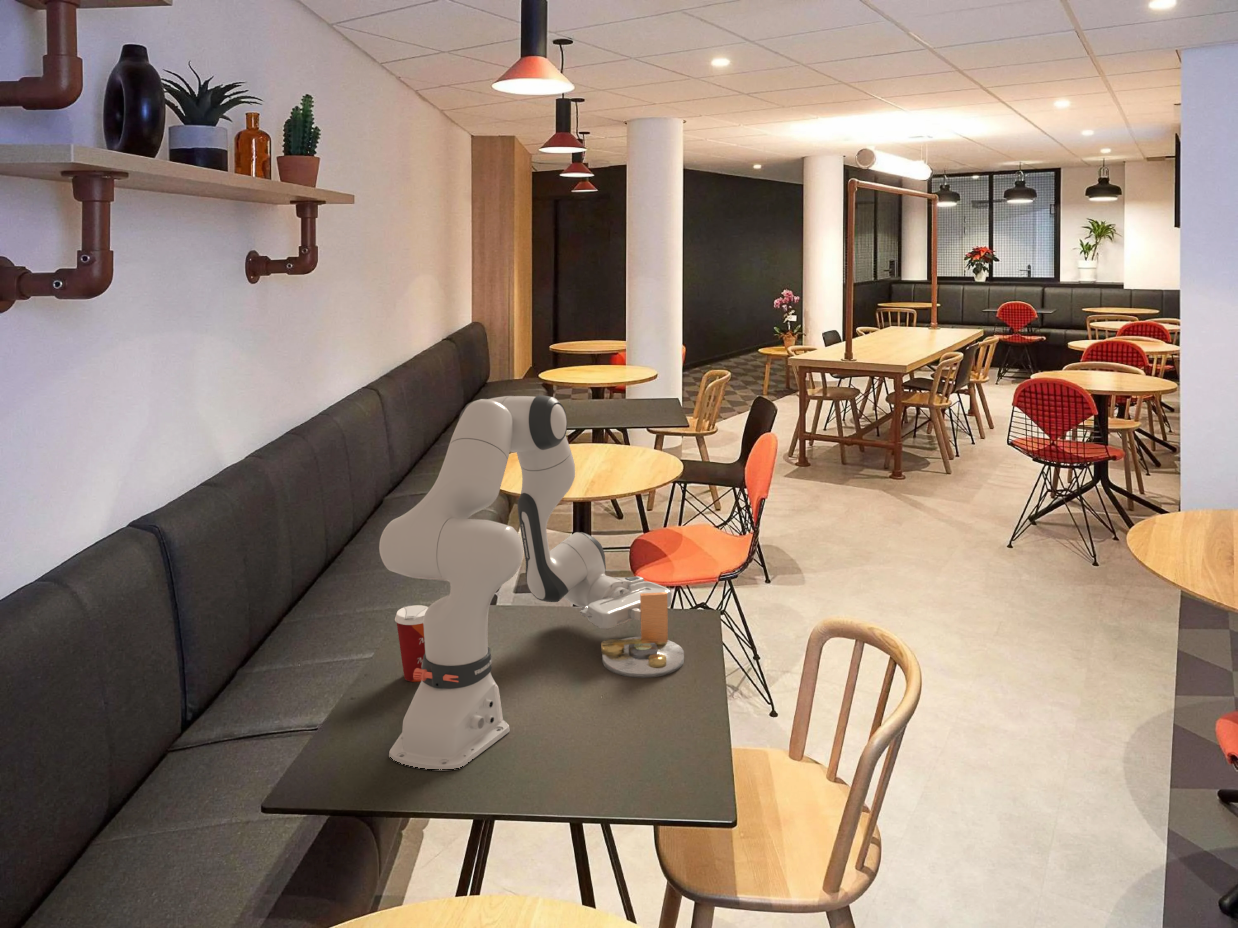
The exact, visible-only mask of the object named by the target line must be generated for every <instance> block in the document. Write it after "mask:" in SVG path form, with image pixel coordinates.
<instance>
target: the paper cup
mask: <svg viewBox="0 0 1238 928" xmlns="http://www.w3.org/2000/svg"><path fill="white" fill-rule="evenodd" d="M428 608H429V606H427V605H424V604H423V605H421V604H417V605H408V606H404V607H401V608H399V609H398V610H397V612H396V615H395V616H394V617H395V618H394V621H395V623H396V628H397V636H398V642H399V648H400V649H399V651H400V656H401V657H400V658H401V663H402V664H401V665H402V671H403V678H404V680H405V681H407V682H411V683H421V680H414V677H413V673H414V670H415V669H416V668H419V669H422V662H423V657H424V654H425V640H424V626H423V619H424V615H425V613H426V611H427V609H428Z"/></svg>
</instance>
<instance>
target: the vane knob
mask: <svg viewBox="0 0 1238 928" xmlns="http://www.w3.org/2000/svg"><path fill="white" fill-rule="evenodd" d="M668 608H669V607H667V592H659V593H641V594H640V615H641V620H640V637H641V639H627V640H621V639H616V638H612V639H611V638H609V639H606V640H603V641H601V643H600V645H601V646H600V647H601V649H600V650H601V651H600V652H601V654H604V655H606V656H618V655H621V654H623V653H624V645H627V644H643V643H659V642H668V640H669V639H668V638H669V637H668V636H669V634H668V630H669V629H668V623H669V622H668V621H669V619H668V614H669V613H668Z"/></svg>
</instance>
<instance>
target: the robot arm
mask: <svg viewBox="0 0 1238 928" xmlns="http://www.w3.org/2000/svg"><path fill="white" fill-rule="evenodd" d="M567 430H568V418H567V413H566V409H565V407H564V406H563V404H562V403H561V402H560V400H558V399H557V398H556V397H553V396H551V395H550V396H548V395H542V394H538V395H537V396H531V395H530V396H529V395H528V396H527V395H515V396H514V395H504V396H498V397H491V398H488V399H487V398H480V399H476V400H474V401H471V402H469V403H467V404H466V405H465V406H464V408H463V409H462V410H461V412H460V415H459V418H458V422H457V424H456V426H455V429H454V432H453V434H452V436H451V438H450V442H449V444H448V448H447V451H446V454H445V456H444V457H445V458H444V460H443V463H442V466H441V469H440V470H439V474H438V477H437V478H436V480H435V482H434V484H433V486H432V487H431V488H430V490H429V492H428V491H427V493H426V495H425V496H424V497H423V498H422V499H421V500H420V501H419V502H418V503H417V504H416V505H414V506H413V508H411V509H410V510H408V511H407V512H406V513H403V514H402V515H401V516H399V517H396V518H394V519H392V520H391V521H390V522H389V523H387V525H386V526H385V528H384V529H383V531H382V532H381V536H380V538H379V545H378V546H379V548H378V549H379V550H378V551H379V555H380V558H381V562H382V563H383V565H384V566H385V568H386V569H387V570H388V571H389V572H393V573H396V574H398V575H400V576H405V577H408V578H411V579H412V578H413V579H423V580H435V581H445V582H448V583H449V585H450V591H449V594H447V595H445V596H442V597H441V598H439V599H437V600H435V601H434V602H433V603H431V604H430V605H429V606H428V607H429V608H428V609H427V611H426V613H425V615H424V619H423V626H424V640H425V654H424V657H423V662H422V669H419V668H416V669H415V670H414V673H413V677H414V680H421V682H419V685H418V687H417V689H416V691H415V694H414V695H413V698H412V700H411V703H410V704H409V706H408V709H407V710H406V713H405V715H404V717H403V720H402V731H401V733H400V735H399V736H398V738H397V739H396V740H395V742H394V743H393V745H392V747H391V748H390V750H389V752H388V753H389V754H388V757H389V758H390V757H391V758H392V759H393V760H392V759H391V758H390V759H391V760H392V761H394V760H395V761H397V762H400V763H401V764H400V763H399V764H400V765H403V764H405V765H404V766H406V765H409V766H408V767H410V766H413V767H412V768H415V767H418V768H417V769H420V768H425V769H424V770H427V769H439V770H438V771H443V770H442V769H454V768H459V769H461V768H460V767H462V766H463V767H465V766H466V765H467V764H469V763H470V762H471V761H472V759H473V760H474V759H476V758H477V757H478V756H479V755H480V754H483V752H484V751H485V750H486V751H487V749H489V748H490V747H491V746H493V745H494V744H495V743H496V742H498V741H499V740H501V739H502V738H503V737H504V736H506V735H507V734H508V733H510V725H509V724H508V723H507V721H505V720H504V718H503V709H502V703H501V696H500V695H501V694H500V689H499V688H500V687H499V686H498V684H497V683H496V681H495V679H494V677H493V676H492V673H491V671H492V670H493V669H492V667H493V666H492V664H493V663H492V662H493V658H492V657H493V656H492V654H491V649H490V647H489V643H488V642H489V641H488V639H489V638H488V634H489V633H488V627H489V626H488V619H489V609H490V605H491V603H492V600H493V598H494V597H495V594H496V593H497V592H498V590H499V589H500V588H501V587H502V586H503V585H504V584H505V583H507V582H508V581H510V580H511V579H512V578H513V577H515V575H516V574H517V572H518V571H519V569H520V567H521V565H522V561H523V558H524V559H525V582H526V587H527V588H528V590H529V592H530V593H531V595H533V597H534V598H535V599H537V600H539V601H542V602H546V603H558V602H559V601H561V600H562V599H565V601H567V602H569V603H571V604H573V605H574V606H577V607H578V608H581V609H580V610H579V614H580V615H581V616H582V617H584V618H587V620H588V621H589V622H590V623H591V624H593V625H594V626H596V627H597V628H599V629H602V630H609V629H611V628H615V627H618V626H621V625H623V624H626V623H629V622H631V621H641V615H640V594H641V593H659V592H667V608H669V607H671V605H672V592H671V590H670V588H668V587H666V586H663V585H660V584H658V583H656V582H651V581H647V580H646V581H645V578H644V577H642V576H639V575H637V576H628V577H612V576H609V575H606V571H607V570H606V569H607V568H606V567H607V566H606V565H607V564H606V554H605V550H604V548H603V546H602V544H601V543H600V541H599V540H597V539H596V538H595V537H594V536H592V535H590V534H588V533H585V532H582V531H581V532H580V531H575V532H574V533H573V534H571V535H569V536H568V537H566V538H565V539H563V540H562V541H561V542H559V543H558V544H557V545H556V546H555V547H553V548H552V549H550V546H549V539H548V533H547V528H548V527H547V526H548V523H549V520H550V517H551V515H552V513H553V511H555V508H556V507H557V506H558V504H559V503H560V502H561V501H562V500H563V498H564V497H565V496H566V495H567V493H568V492H569V490H570V489H571V487H572V486H573V483H574V481H575V477H576V465H575V459H574V456H573V454H572V450H571V447H570V444H569V441H568V439H567V436H566V434H567V432H568V431H567ZM510 453H516V456H517V459H518V462H519V466H520V469H521V477H522V479H521V481H522V484H521V491H520V495H519V497H518V500H517V515H518V523H519V529H520V534H521V537H520V535H519V533H518V532H517V530H516V529H515V528H514V526H511V525H508V524H504V523H501V522H498V521H493V520H490V519H478V518H470V517H471V516H472V515H475V514H477V513H478V512H480V511H483V510H485V509H487V508H488V507H490V506H492V504H493V503H494V502H495V501H496V500H497V498H498V496H499V494H500V491H501V490H500V489H501V487H502V482H503V479H504V475H505V472H506V468H507V465H508V461H509V456H510ZM395 761H394V762H395ZM397 762H396V763H397ZM468 762H469V763H468ZM463 767H462V768H463ZM440 769H441V770H440ZM454 770H455V769H454Z"/></svg>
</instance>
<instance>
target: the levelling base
mask: <svg viewBox="0 0 1238 928" xmlns="http://www.w3.org/2000/svg"><path fill="white" fill-rule="evenodd" d="M627 639H641V636H633V637H626V638H622V639H620V640H627ZM601 654H602V653H601ZM601 658H602V660H601V661H602V665H603V666H604V667H605V668H606V669H607V670H608V671H609V672H612V673H614V674H616V675H618V676H624V677H629V678H638V679H647V678H649V679H650V678H657V677H663V676H665V675H670V674H672V673H675V672H676V671H677V670H679V669H680V668H681V667H682V666H683V665H684V661H685V651H684V649H683V648H682V647H681V646H680V645H679V644H677V643H676V642H674V641H671V640H669V639H668V642H659V643H643V644H627V645H624V653H623V654H621V655H618V656H606V655H604V654H602V657H601Z"/></svg>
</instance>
